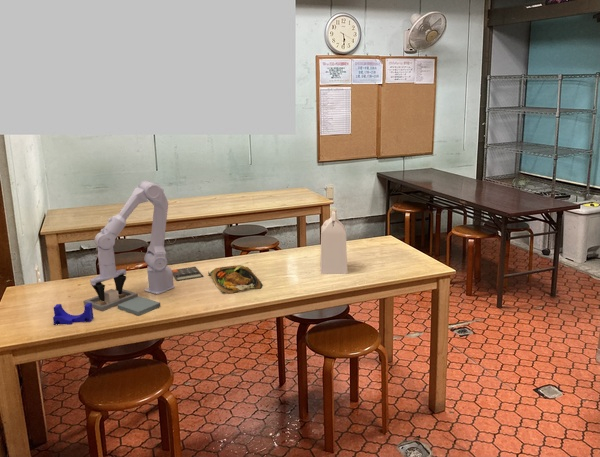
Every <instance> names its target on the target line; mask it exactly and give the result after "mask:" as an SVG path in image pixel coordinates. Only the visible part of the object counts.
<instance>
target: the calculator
mask: <svg viewBox="0 0 600 457" xmlns="http://www.w3.org/2000/svg"><path fill="white" fill-rule="evenodd" d="M171 270H172V273H173V279H175V280H174V281H175V282H180V281H187V280H192V279H193V280H194V279H201V278H204V274H203V273H202V272H201V271H200V270H199V269H198V268H197V267H196V266H189V267H188V266H187V267H185V268H184V267H183V268H177V269H175V268H174V269H171Z"/></svg>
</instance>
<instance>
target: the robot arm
mask: <svg viewBox="0 0 600 457" xmlns="http://www.w3.org/2000/svg"><path fill="white" fill-rule="evenodd" d="M147 202H150V203H151V205H153V216H152V222H151V234H150V244H149V245H148V247H147V249H146V250H147V251H146V253H145V255H144V256H143V257H144V258H143V259H144V262H145V264H146V265H147V267H146V268H147V269H146V272H147V273H146V274H147V281H148V282H147V283H148V288H144V291H145V292H147V293H151V294H154V295H160V294H163V293H165V292H167V291H170V290H173V289H175V287H176V286H175V285H174V277H173V273H172V270H173V269H171V267H170V266H169V265H168V259H167V251H166V248H165V241H166V240H165V239H166V238H165V237H166V228H167V220H168V209H169V201H168V199H167V197H166V195H165V193H164V189H163V188H162V187H161V186H160V185H159V184H157V183H155V182H151V181H149V180H143V181H141V182H140V183H139V184H138V185H137V186H136V187H135V188H134V190H133V191H132V194H131V195H130V197H128V199H127V200H126V203H125V204H124V206H122V208H121V210H120V212H118V214H116V215H112V216H111V217H109V218H108V219H107V221H108V222H107V223H106V224H105V225H104V227H103V228H101V229H100V232H98V233H97V234H96V235H95V237H94V240H93V241H94V243H95V244H96V246H97V259H98V268H99V274H98V275H97V276H94V278H91V279H89V283H90V285H91V287H92V288H93V289H94V290H95V292H96V294H97V296H99V299H100V301H101V302H104V301H105V295H104V291H105V288H106V284H103V283H104V282H107V281H109V280H112V279H113V281H114V284H115V289H116V290H117V291H118V295H119V296H122V289H123V288H124V284H125V282H126V280H127V276H126V275H127V270H126V269H124V268H122V269H117V268H116V261H115V260H116V259H115V251H114V246H115V244H116V239H117V237H118V236H119V235H120V234H121V232H122V231H123V230H124V228H125V227H126V225H127V219H128V217H129V216H131V214H132V213H133V212H134V211H135V210H136V208H137V207H138V206H140V204H143V203H147Z"/></svg>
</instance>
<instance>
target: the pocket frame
mask: <svg viewBox="0 0 600 457" xmlns="http://www.w3.org/2000/svg"><path fill="white" fill-rule="evenodd" d="M114 290H116V288H115V289H114ZM122 295H123V296H124V297H121V298H119V299H118V300H115V301H113V302H110V303H105V304H101V303H98V302H100V301H101V300H100V299H99V296H98V295H96V296H94V297H90V298H88V299H85V300H83V305H84V306H85V305H86V304H87V303H92V309H96V310H97V311H101V312H104V311H106V310H109V309H112V308H114V307H117V305H118V304H121V303H123V302H126V301H128V300H131V299H134V298H136V297H139V294H138V292H134V291H131V290H127V289H122V294H121V296H122Z"/></svg>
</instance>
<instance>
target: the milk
mask: <svg viewBox="0 0 600 457" xmlns="http://www.w3.org/2000/svg"><path fill="white" fill-rule="evenodd" d="M320 231H321V232H320V275H348V254H347V253H348V252H347V249H348V248H347V231H346V227H345V225H344V224H343V223H342V222H341V221H340V220H339V219H338V218H337V217H336V212H335V210H332V211H331V215H330V218H328V219H326V220H324V222H323V224H322V225H321V226H320Z"/></svg>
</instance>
